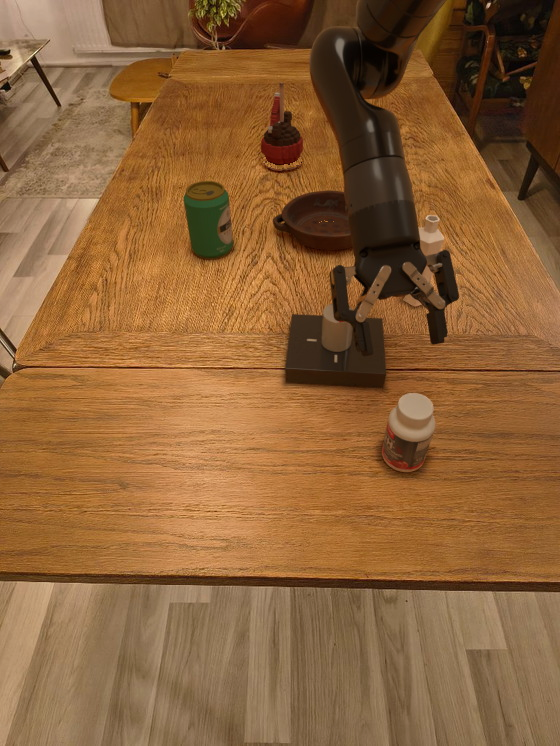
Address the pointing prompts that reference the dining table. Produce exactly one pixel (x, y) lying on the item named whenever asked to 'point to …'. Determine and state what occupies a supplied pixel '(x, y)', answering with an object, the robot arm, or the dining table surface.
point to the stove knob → (335, 331)
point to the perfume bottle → (428, 248)
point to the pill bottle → (409, 433)
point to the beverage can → (208, 219)
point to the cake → (281, 136)
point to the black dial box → (333, 357)
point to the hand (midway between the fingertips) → (403, 349)
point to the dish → (317, 220)
